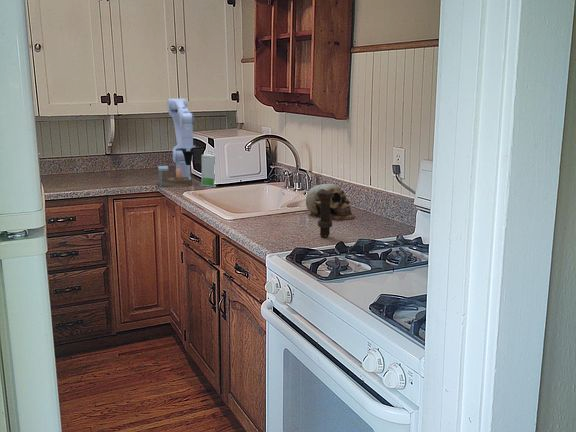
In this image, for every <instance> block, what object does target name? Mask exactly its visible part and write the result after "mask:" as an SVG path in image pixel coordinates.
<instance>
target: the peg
mask: <svg viewBox="0 0 576 432" xmlns="http://www.w3.org/2000/svg"><path fill="white" fill-rule="evenodd" d="M175 177H176V180H177V179H182V169H176V168H175Z"/></svg>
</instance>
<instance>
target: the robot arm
mask: <svg viewBox="0 0 576 432" xmlns="http://www.w3.org/2000/svg"><path fill="white" fill-rule="evenodd" d="M167 111H168V115H169V117H171V118H172V120H173V126H174V132H175V141H176V145H175V146H174V147H172V161H173V162H174V164H175V170H176V169H182V177H188V178H189V181H191V180H192V176H191V165H192V162H193V160H194V159H193V157H194V150H193V148H196V145H194V128H193V127H194V126H193V125H194V121H195V118H194V113H193V112H190V110H189V108H188V100H187V98H184V97H183V98H169V97H168V99H167Z"/></svg>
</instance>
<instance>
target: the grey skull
mask: <svg viewBox="0 0 576 432" xmlns="http://www.w3.org/2000/svg"><path fill="white" fill-rule="evenodd" d="M319 191H332V192H334V197H332V198H331V202H330V220H336V221H337V220H339V221H346V220H353V219H355V216H354V214H353V213H352V208H351V206H350V204H351V202H350V200H348V198H347V196H346V194H345V192H344V190H342V189H341V188H340V186H339V185H337V184H335V183H322V184H317V185H315V186H312V187H311V188H310V189H308V191H307V193H306V197H305V206H306V209H307V210H308V212H310V213H311V214H312V215H313V216H315V217H320V198H319V197H318V196H317V192H319Z"/></svg>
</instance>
